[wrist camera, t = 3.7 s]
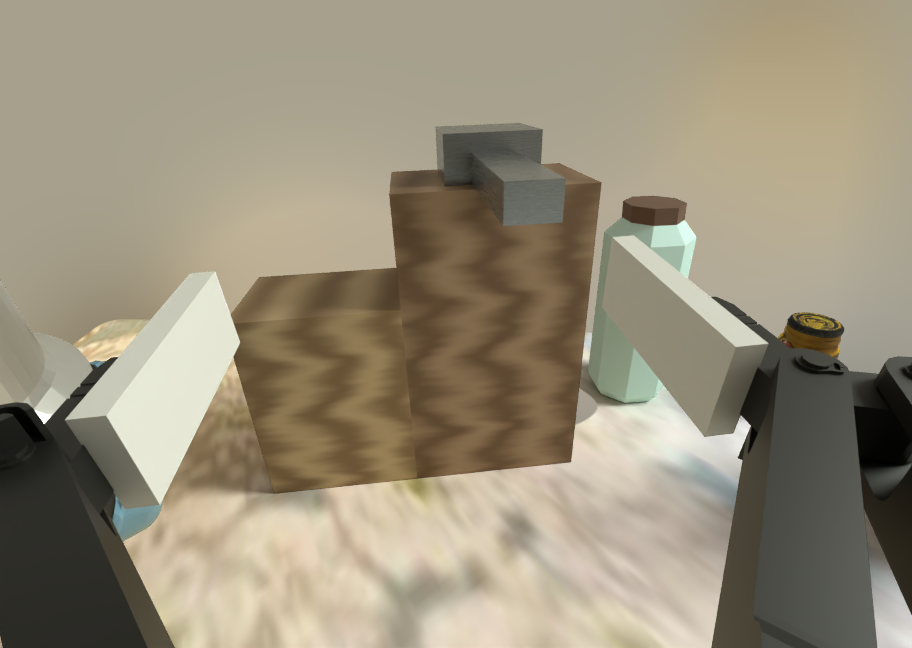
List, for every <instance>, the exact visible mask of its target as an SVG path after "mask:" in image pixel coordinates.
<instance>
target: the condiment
mask: <svg viewBox="0 0 912 648" xmlns="http://www.w3.org/2000/svg"><path fill="white" fill-rule="evenodd" d="M784 331H785V332H784V333H782V334H781V335H780V336H779V337H778V339H779V340H780V341H782V342H783V343H784V344H786V345H787V346H788V347H790V348H791V349H794V348H803V349H810V350H815V351H818V352H821V353H824V354H828V355H829V356H831V357H833V358H835V359H837V358H838V355H839V352H840V350H839V347H838V345H839V343H840V341H841V335H842V334H843V332H844V327H843V326H842V325H841V324H840V322H838V321H836V320H834V319H832V318H829V317H827V316H824V315H820V314H814V313H795V314H793V315H791V316H790V318H789V319H788V322H787V326H785V330H784Z"/></svg>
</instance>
